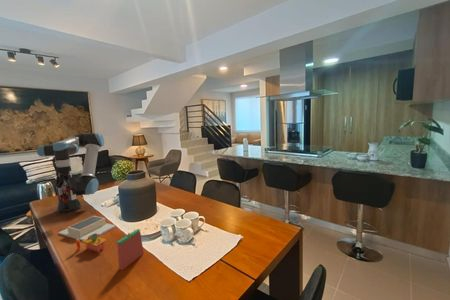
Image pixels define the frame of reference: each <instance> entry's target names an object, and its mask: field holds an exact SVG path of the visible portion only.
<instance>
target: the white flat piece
mask: <svg viewBox="0 0 450 300" xmlns="http://www.w3.org/2000/svg"><path fill="white" fill-rule="evenodd" d="M106 220H107V219H106V218H105V217H102V216H97V215H92V216H90V217H88V218H86V219H83V220H81V221H79V222H77V223H74V224H72V225H69V226H67V227H66V228H65V229H63V230H61V231H59V232H58V234H59V235H62V236H65V237H68V238H72V239H79V241H81V242H83V240H85V239H87V238H88V236H90V235H92V234H94V233H96V234H99V236H98V237H100V236H102V235H104V234H105V233H107V232H109V231H110V230H113V229H115V228H116V227H117V225H116V224H111V223H109V222H108V223H107V221H106Z"/></svg>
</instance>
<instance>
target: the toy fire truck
mask: <svg viewBox="0 0 450 300" xmlns="http://www.w3.org/2000/svg"><path fill="white" fill-rule="evenodd" d="M70 189H71V188H70V187H69V185H65V184H63V185H62V192H63V195H59V200H60V201H63V203H65V202H67V201H68V200H72V199H71V192H70ZM74 200H76V199H74Z"/></svg>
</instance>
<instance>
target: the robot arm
mask: <svg viewBox="0 0 450 300" xmlns="http://www.w3.org/2000/svg"><path fill="white" fill-rule="evenodd" d="M104 145H105V139H104V136H103V134H102V133H100V132H89V133H87V132H86V133H78V134H74V135H70V136H68V137H67V138H66V139H63V140H60V141H56V142H54V143H49V144H45V145H44V144H43V145H38V147H36V154H37V155H38V156H39V157H42V158H43V157H46V158H47V157H54V164H55V167H56V168H55V169H56V174H55V176H56V178H55V187H56V188H55V189H56V195H57V199H58V202H57V206H56V212H57V214H68V213H72V212H76V211H78V210H79V209H81V208H82V204H81V202H80V201H79V200H80V199H78V196H90V195H94V194H95V193H96V192H98V189H99V180H98V179H97V176H96V175H95V174H96V167H97V161H98V154H99V151H100V150H101V148H102V147H104ZM80 148H85V150H86V151H85V154H84V155H85V156H84V161H83V166H82V171H81V175H80V176H78V180H76V179H75V177H74V174H73V173H70V172H72V166H71V159H70V156H72V155H76V154H77V153H79V150H80ZM63 184H65V185H69V187H70V188H71V189H70V192H71V199H72V200H68V201H67V202H65V203H63V201H60V200H59V195H63V192H62V185H63ZM74 199H76V200H74Z"/></svg>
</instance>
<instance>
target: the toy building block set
mask: <svg viewBox="0 0 450 300" xmlns="http://www.w3.org/2000/svg"><path fill="white" fill-rule="evenodd" d="M106 241H107V239H106V238H101V237H100V236H99V234H96V233H94V234H92V235H90V236H88V238H87V239H85V240H83V241H81V240H79V239H76V241H75V243H76V247H77V248H76V251H77V252H81V251H80V249H81V242H83V243H85V246H86V250H89V251H92V252H93V251H94V252H95V253H96V252H97V253H101V250H102V251H104V250H105V242H106ZM116 242H117V256H118V259H117V260H118V269H119V270H121V271H123V270H124V269H126V268H127V267H128V266H130V265H131V264H132V263H133V262H135V261H136V260H137V259H139V258H140V257H141V256H143V255H144V253H145V252H144V247H143V241H142V235H141V229H139V228H137V229H135V230H134V231H132V232H131V233H130V232H128V233H127V235H126V236H124V237H122V238H121V239H119V240H117V241H116Z"/></svg>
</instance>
